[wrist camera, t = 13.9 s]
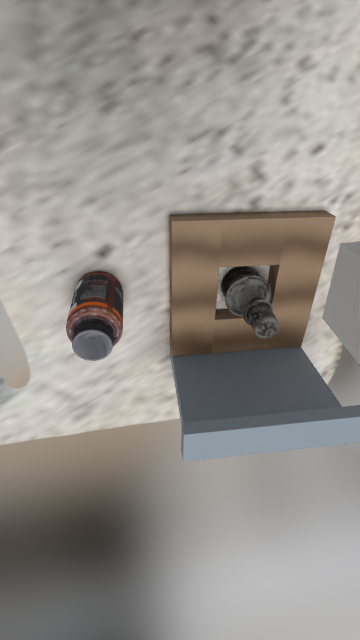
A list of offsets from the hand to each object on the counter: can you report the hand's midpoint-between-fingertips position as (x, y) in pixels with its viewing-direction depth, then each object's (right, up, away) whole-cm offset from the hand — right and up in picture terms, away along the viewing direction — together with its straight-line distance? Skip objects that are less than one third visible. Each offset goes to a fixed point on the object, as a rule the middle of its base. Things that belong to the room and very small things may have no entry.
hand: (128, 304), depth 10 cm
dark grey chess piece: (+10, +4, +35) cm, 36 cm away
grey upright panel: (+10, -3, +40) cm, 41 cm away
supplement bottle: (-9, +3, +33) cm, 34 cm away
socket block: (+10, +4, +35) cm, 36 cm away
